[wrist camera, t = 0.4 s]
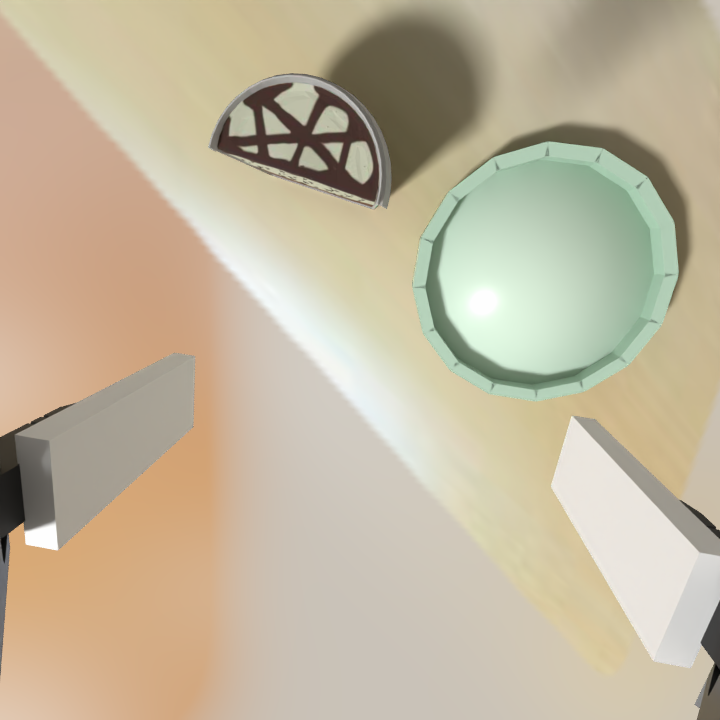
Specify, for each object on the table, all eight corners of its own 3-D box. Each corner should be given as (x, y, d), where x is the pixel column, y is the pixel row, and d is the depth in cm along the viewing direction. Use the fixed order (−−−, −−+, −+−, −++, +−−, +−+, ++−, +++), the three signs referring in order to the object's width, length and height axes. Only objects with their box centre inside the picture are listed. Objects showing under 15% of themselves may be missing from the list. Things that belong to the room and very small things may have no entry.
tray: (390, 190, 37) (389, 187, 34) (646, 116, 33) (664, 107, 31) (440, 409, 41) (442, 419, 39) (669, 363, 38) (686, 371, 36)
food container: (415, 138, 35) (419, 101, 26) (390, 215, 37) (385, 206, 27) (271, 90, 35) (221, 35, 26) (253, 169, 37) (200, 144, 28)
